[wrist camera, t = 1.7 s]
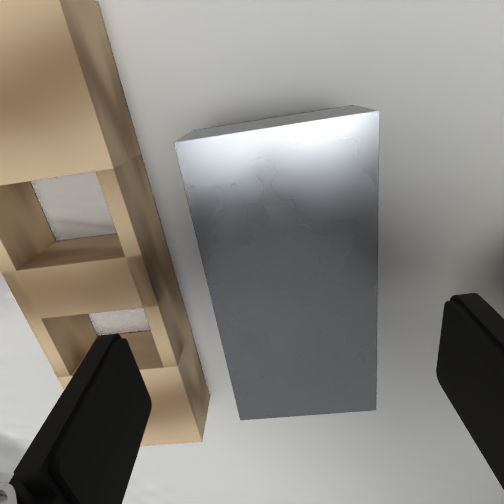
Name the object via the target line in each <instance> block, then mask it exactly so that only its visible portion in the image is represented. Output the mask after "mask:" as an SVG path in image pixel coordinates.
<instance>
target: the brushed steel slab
mask: <svg viewBox="0 0 504 504" xmlns="http://www.w3.org/2000/svg"><path fill="white" fill-rule="evenodd" d="M174 145H175V150H176V154H177V158H178V162H179V166H180V170H181V175H182V179H183V183H184V187H185V191H186V195H187V200H188V204H189V208H190V212H191V216H192V220H193V225H194V229H195V233H196V237H197V241H198V245H199V250H200V254H201V258H202V262H203V266H204V270H205V275H206V279H207V283H208V287H209V291H210V295H211V300H212V304H213V308H214V312H215V316H216V320H217V325H218V329H219V333H220V337H221V341H222V345H223V350H224V354H225V358H226V362H227V366H228V370H229V375H230V379H231V383H232V387H233V391H234V395H235V400H236V404H237V408H238V412H239V416H240V420H249V419H263V418H276V417H290V416H303V415H317V414H331V413H344V412H358V411H371V410H376V382H377V276H378V171H379V111H378V110H373V109H368V108H363V107H359V106H354V105H350V106H344V107H338V108H331V109H325V110H319V111H312V112H306V113H300V114H293V115H287V116H281V117H274V118H268V119H262V120H255V121H249V122H243V123H237V124H230V125H224V126H218V127H211V128H205V129H199V130H194V131H192V132H190V133H189V134H187V135H186V136H184V137H182V138H181V139H179V140H177V141H176V142H174Z"/></svg>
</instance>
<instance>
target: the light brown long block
mask: <svg viewBox="0 0 504 504" xmlns="http://www.w3.org/2000/svg"><path fill="white" fill-rule="evenodd" d="M93 171H96V174H97V177H98V180H99V182H100V185H101V188H102V191H103V194H104V197H105V200H106V203H107V205H108V208H109V211H110V214H111V217H112V220H113V223H114V226H115V229H116V231H117V234H109V235H102V236H94V237H86V238H79V239H71V240H64V241H55V238H54V236H53V234H52V232H51V229H50V227H49V225H48V222H47V220H46V218H45V215H44V213H43V211H42V209H41V206H40V204H39V202H38V199H37V197H36V195H35V193H34V190H33V188H32V186H31V183H30V181H33V180H40V179H47V178H53V177H60V176H67V175H73V174H80V173H87V172H93ZM0 271H1V273H2V275H3V277H4V278H5V280H6V282H7V284H8V286H9V288H10V290H11V292H12V293H13V295H14V297H15V299H16V301H17V303H18V305H19V307H20V308H21V310H22V312H23V314H24V316H25V318H26V320H27V322H28V323H29V325H30V327H31V329H32V331H33V333H34V335H35V336H36V338H37V340H38V342H39V344H40V346H41V348H42V350H43V351H44V353H45V355H46V357H47V359H48V361H49V363H50V365H51V366H52V368H53V370H54V372H55V374H56V376H57V378H58V380H59V381H60V383H61V385H62V387H63V389H64V390H65V388H66V387H67V385H68V383H69V382H70V380H71V378H72V377H73V375H74V374H75V372H76V370H77V369H78V367H79V366H80V364H81V362H82V361H83V359H84V357H85V356H86V354H87V353H88V351H89V349H90V348H91V346H92V345H93V343H94V341H95V340H96V338H97V337H99V336H97V335H96V332H95V330H94V328H93V326H92V323H91V321H90V319H89V316H88V313H97V312H107V311H116V310H125V309H134V308H143V309H144V312H145V315H146V318H147V321H148V324H149V326H150V329H151V331H143V332H134V333H124V334H119V335H120V336H121V337H122V338H125V339H127V341H128V343H129V346H130V348H131V351H132V353H133V356H134V358H135V360H136V363H137V365H138V368H139V370H140V373H141V375H142V378H143V380H144V383H145V385H146V388H147V390H148V392H149V395H150V397H151V401H152V408H151V413H150V416H149V419H148V422H147V426H146V429H145V432H144V435H143V438H142V441H141V444H140V446H149V445H164V444H179V443H193V442H202V439H203V434H204V428H205V422H206V417H207V411H208V405H209V400H210V395H209V392H208V388H207V385H206V381H205V378H204V374H203V371H202V367H201V364H200V360H199V357H198V353H197V350H196V346H195V343H194V339H193V336H192V332H191V329H190V325H189V321H188V318H187V314H186V311H185V307H184V304H183V300H182V297H181V293H180V290H179V286H178V283H177V279H176V276H175V272H174V269H173V265H172V262H171V258H170V255H169V251H168V248H167V244H166V240H165V237H164V233H163V230H162V226H161V223H160V219H159V216H158V212H157V209H156V205H155V202H154V198H153V195H152V191H151V188H150V184H149V181H148V177H147V174H146V170H145V167H144V163H143V160H142V156H141V152H140V149H139V145H138V142H137V138H136V135H135V131H134V128H133V124H132V121H131V117H130V114H129V110H128V107H127V103H126V100H125V96H124V93H123V89H122V86H121V82H120V79H119V75H118V71H117V68H116V64H115V61H114V57H113V54H112V50H111V47H110V43H109V40H108V36H107V33H106V29H105V26H104V22H103V19H102V15H101V12H100V8H99V5H98V2H97V1H95V0H0Z"/></svg>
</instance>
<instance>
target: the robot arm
mask: <svg viewBox="0 0 504 504" xmlns="http://www.w3.org/2000/svg"><path fill="white" fill-rule="evenodd" d="M436 373H437V378H438V381H439V383H440V385H441V387H442V388H443V390H444V392H445V393H446V395H447V397H448V398H449V400H450V402H451V403H452V405H453V407H454V408H455V410H456V411H457V413H458V415H459V416H460V418H461V420H462V421H463V423H464V425H465V426H466V428H467V430H468V431H469V433H470V435H471V436H472V438H473V440H474V441H475V443H476V445H477V446H478V448H479V450H480V451H481V453H482V454H483V456H484V458H485V459H486V461H487V463H488V464H489V466H490V468H491V469H492V471H493V473H494V474H495V476H496V478H497V479H498V481H499V483H500V484H501V486H502V488H503V489H504V319H503V318H502V317H501V316H500V315H499V314H498V313H497V312H496V311H495V310H494V309H493V308H492V307H491V306H490V305H489V304H488V303H487V302H486V301H485V300H484V299H483V298H482V297H480V296H479V295H478V294H476V293H469V294H461V295H454V296H452V297H451V299H450V301H447V302H446V303H445V305H444V312H443V320H442V328H441V336H440V344H439V352H438V360H437V368H436ZM151 408H152V401H151V397H150V395H149V392H148V390H147V388H146V385H145V383H144V380H143V378H142V375H141V373H140V370H139V368H138V365H137V363H136V360H135V358H134V356H133V353H132V351H131V348H130V346H129V343H128V341H127V339H125V338H122V337H121V336H120V335H119V334H112V335H104V336H99V337H97V338H96V340H95V341H94V343H93V345H92V346H91V348H90V349H89V351H88V353H87V354H86V356H85V357H84V359H83V361H82V362H81V364H80V366H79V367H78V369H77V370H76V372H75V374H74V375H73V377H72V378H71V380H70V382H69V383H68V385H67V387H66V388H65V390H64V391H63V393H62V395H61V396H60V398H59V399H58V401H57V403H56V404H55V406H54V408H53V409H52V411H51V412H50V414H49V416H48V417H47V419H46V420H45V422H44V424H43V425H42V427H41V429H40V430H39V432H38V433H37V435H36V437H35V438H34V440H33V441H32V443H31V445H30V446H29V448H28V450H27V451H26V453H25V454H24V456H23V458H22V459H21V461H20V463H19V464H18V466H17V467H16V469H15V471H14V473H15V474H14V476H13V477H12V479H11V480H10V482H9V483H7V482H0V504H122V501H123V498H124V495H125V492H126V489H127V485H128V482H129V479H130V476H131V473H132V470H133V466H134V463H135V460H136V457H137V454H138V451H139V448H140V444H141V441H142V438H143V435H144V432H145V429H146V426H147V422H148V419H149V416H150V413H151Z"/></svg>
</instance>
